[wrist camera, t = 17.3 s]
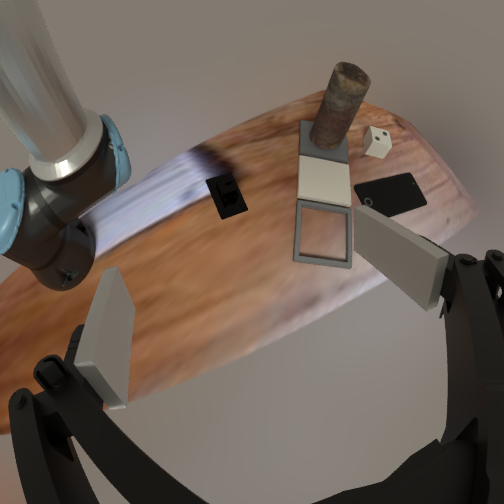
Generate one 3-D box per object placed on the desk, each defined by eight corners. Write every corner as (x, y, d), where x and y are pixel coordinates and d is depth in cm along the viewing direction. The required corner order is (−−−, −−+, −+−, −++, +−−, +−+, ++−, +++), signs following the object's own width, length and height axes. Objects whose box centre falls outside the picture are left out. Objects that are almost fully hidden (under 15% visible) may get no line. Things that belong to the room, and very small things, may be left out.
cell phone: (352, 187, 58) (353, 185, 57) (408, 174, 61) (410, 172, 61) (370, 224, 56) (372, 222, 55) (426, 205, 59) (428, 203, 58)
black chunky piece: (255, 217, 55) (258, 206, 50) (219, 230, 53) (218, 219, 49) (232, 166, 58) (232, 153, 54) (198, 177, 57) (196, 164, 52)
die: (364, 154, 62) (373, 141, 57) (362, 138, 63) (370, 125, 58) (383, 159, 62) (392, 146, 57) (380, 143, 63) (388, 131, 58)
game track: (292, 261, 52) (294, 259, 51) (299, 123, 63) (300, 119, 62) (349, 268, 52) (351, 267, 51) (344, 132, 63) (345, 129, 62)
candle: (331, 125, 62) (357, 61, 43) (346, 148, 60) (380, 84, 41) (303, 131, 60) (325, 61, 42) (318, 155, 58) (348, 86, 40)
